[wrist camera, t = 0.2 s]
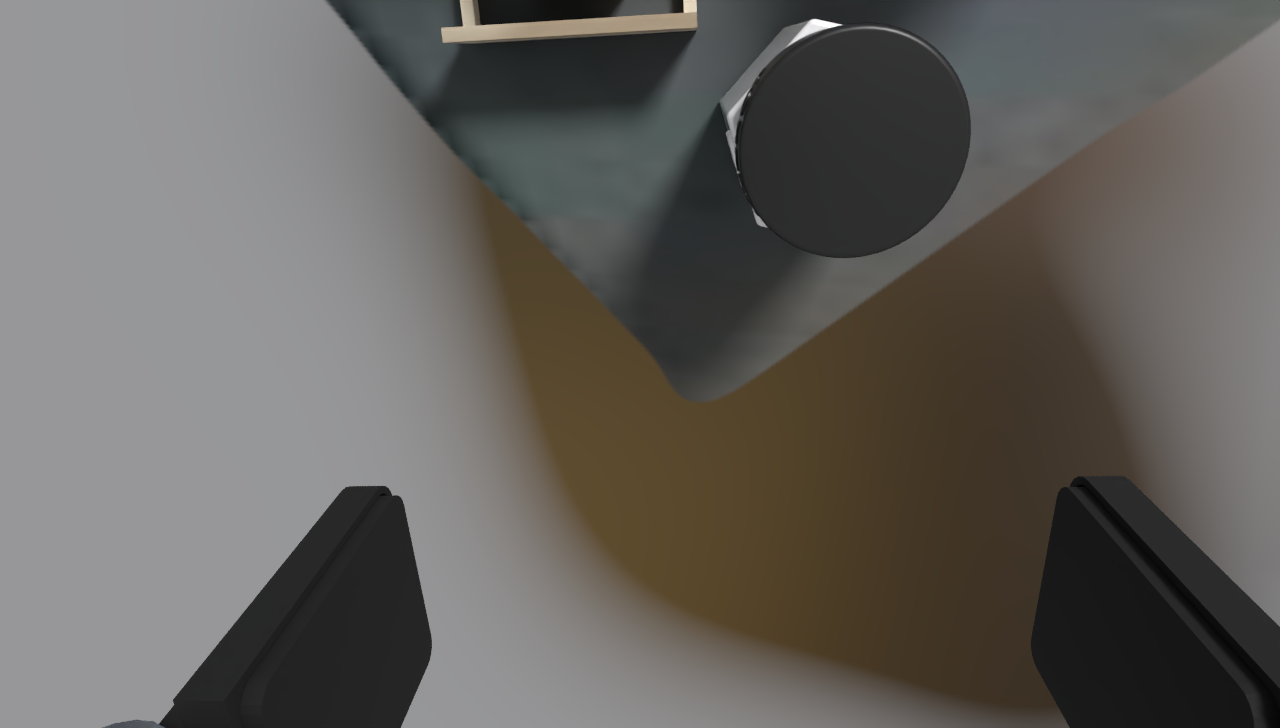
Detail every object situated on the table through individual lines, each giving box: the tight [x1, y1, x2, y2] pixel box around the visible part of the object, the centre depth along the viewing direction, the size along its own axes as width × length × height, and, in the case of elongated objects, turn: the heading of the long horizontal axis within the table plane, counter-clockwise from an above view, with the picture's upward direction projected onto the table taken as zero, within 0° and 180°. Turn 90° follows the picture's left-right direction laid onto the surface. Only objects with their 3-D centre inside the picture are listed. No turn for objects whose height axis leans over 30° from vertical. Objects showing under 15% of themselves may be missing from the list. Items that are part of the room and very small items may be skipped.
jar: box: [720, 19, 971, 258], centre depth 32 cm, size 9×8×12 cm
